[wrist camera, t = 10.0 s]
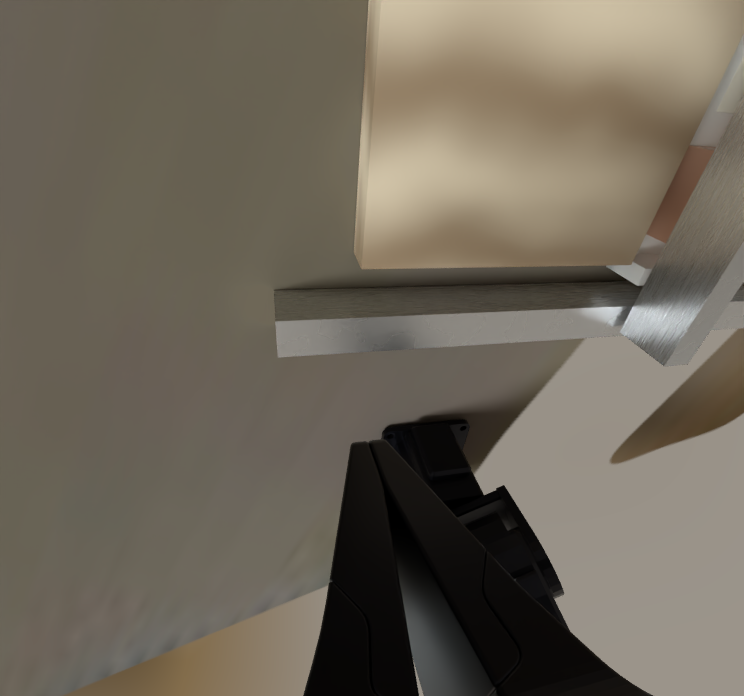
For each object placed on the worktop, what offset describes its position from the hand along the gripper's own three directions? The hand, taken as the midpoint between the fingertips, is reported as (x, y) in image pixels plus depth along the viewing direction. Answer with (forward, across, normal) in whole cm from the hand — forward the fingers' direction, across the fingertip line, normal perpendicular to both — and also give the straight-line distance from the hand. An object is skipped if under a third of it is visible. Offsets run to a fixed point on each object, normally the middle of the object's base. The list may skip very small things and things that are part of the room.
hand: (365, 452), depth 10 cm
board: (+12, -10, -6) cm, 17 cm away
